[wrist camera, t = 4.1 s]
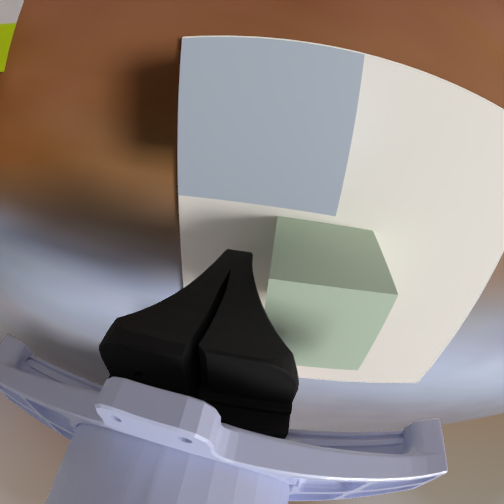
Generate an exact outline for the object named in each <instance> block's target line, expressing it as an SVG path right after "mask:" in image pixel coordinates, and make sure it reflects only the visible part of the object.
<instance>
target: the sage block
mask: <svg viewBox="0 0 504 504" xmlns="http://www.w3.org/2000/svg"><path fill="white" fill-rule="evenodd" d="M397 297H398V292H397V290H396V287H395V284H394V281H393V279H392V276H391V274H390V271H389V268H388V266H387V263H386V261H385V258H384V256H383V253H382V251H381V249H380V246H379V244H378V241H377V239H376V237H375V234H374V232H373V231H372V230H366V229H360V228H354V227H347V226H341V225H335V224H328V223H322V222H315V221H308V220H302V219H295V218H287V217H280V216H277V224H276V231H275V238H274V246H273V253H272V260H271V267H270V274H269V281H268V288H267V295H266V302H265V308H264V310H265V312H266V314H267V316H268V318H269V320H270V321H271V323H272V325H273V327H274V328H275V330H276V332H277V333H278V335H279V336H280V338H281V339H282V340H283V342H284V343H285V344H286V346H287V347H288V348H289V349H290V350H291V352H292V353H293V356H294V359H295V363H296V365H297V366H307V367H318V368H330V369H344V370H358V369H359V368H360V366H361V364H362V363H363V361H364V359H365V357H366V356H367V354H368V352H369V350H370V349H371V347H372V345H373V343H374V342H375V340H376V338H377V336H378V334H379V332H380V330H381V329H382V327H383V325H384V323H385V321H386V319H387V317H388V315H389V313H390V311H391V309H392V307H393V305H394V303H395V301H396V299H397Z"/></svg>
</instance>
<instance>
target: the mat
mask: <svg viewBox="0 0 504 504" xmlns="http://www.w3.org/2000/svg"><path fill="white" fill-rule="evenodd" d="M194 37H247V38H264V39H276V40H286V41H294V42H302V43H309V44H315V45H321V46H327V47H332V48H337V49H342V50H347V51H351V52H356V53H360V54H364V63H363V71H362V79H361V86H360V93H359V100H358V106H357V112H356V118H355V124H354V130H353V136H352V141H351V147H350V152H349V157H348V162H347V167H346V172H345V177H344V181H343V186H342V191H341V195H340V200H339V204H338V209H337V213H336V216H330V215H324V214H318V213H312V212H306V211H299V210H292V209H286V208H279V207H272V206H265V205H257V204H250V203H242V202H234V201H226V200H218V199H210V198H201V197H192V196H182V195H179V224H180V244H181V260H182V274H183V287H186V286H187V285H188V284H190V283H191V282H192V281H193V280H195V279H196V278H197V277H198V276H200V275H201V274H202V273H203V272H204V271H205V270H206V269H207V268H209V267H210V266H211V265H212V264H213V263H214V262H215V261H216V260H217V259H218V258H219V257H220V256H221V255H222V253H223V252H224V251H225V250H227V249H231V250H238V251H245V252H251V253H252V254H253V262H252V268H253V275H254V279H255V284H256V288H257V291H258V294H259V297H260V300H261V303H262V305H263V307H264V308H265V302H266V295H267V288H268V281H269V274H270V267H271V260H272V253H273V246H274V238H275V231H276V224H277V216H280V217H287V218H295V219H302V220H308V221H315V222H322V223H328V224H335V225H341V226H347V227H354V228H360V229H366V230H372V231H373V232H374V234H375V237H376V239H377V241H378V244H379V246H380V249H381V251H382V253H383V256H384V258H385V261H386V263H387V266H388V268H389V271H390V274H391V276H392V279H393V281H394V284H395V287H396V290H397V292H398V297H397V299H396V301H395V303H394V305H393V307H392V309H391V311H390V313H389V315H388V317H387V319H386V321H385V323H384V325H383V327H382V329H381V330H380V332H379V334H378V336H377V338H376V340H375V342H374V343H373V345H372V347H371V349H370V350H369V352H368V354H367V356H366V357H365V359H364V361H363V363H362V364H361V366H360V368H359V369H358V370H344V369H330V368H318V367H307V366H297V365H296V367H297V372H298V377H300V378H310V379H321V380H334V381H349V382H372V383H418V382H419V380H420V379H421V378H422V377H423V376H424V375H425V373H426V372H427V371H428V370H429V368H430V367H431V366H432V365H433V363H434V362H435V361H436V360H437V358H438V357H439V356H440V354H441V353H442V352H443V350H444V349H445V348H446V346H447V345H448V344H449V342H450V341H451V340H452V338H453V337H454V335H455V334H456V332H457V331H458V330H459V328H460V327H461V325H462V324H463V322H464V321H465V319H466V318H467V316H468V314H469V313H470V311H471V310H472V308H473V306H474V305H475V303H476V302H477V300H478V298H479V297H480V295H481V293H482V291H483V290H484V288H485V286H486V284H487V283H488V281H489V279H490V277H491V275H492V273H493V271H494V269H495V267H496V266H497V264H498V262H499V260H500V258H501V255H502V253H503V251H504V109H502V108H501V107H499V106H497V105H495V104H493V103H492V102H490V101H488V100H486V99H484V98H482V97H480V96H478V95H476V94H474V93H472V92H470V91H468V90H466V89H464V88H462V87H460V86H457V85H455V84H453V83H451V82H448V81H446V80H444V79H441V78H439V77H436V76H434V75H431V74H429V73H426V72H423V71H421V70H418V69H415V68H412V67H409V66H406V65H403V64H400V63H397V62H394V61H391V60H387V59H384V58H380V57H377V56H373V55H369V54H365V53H361V52H357V51H353V50H348V49H344V48H339V47H334V46H329V45H323V44H317V43H311V42H304V41H297V40H288V39H279V38H268V37H253V36H189V37H183V38H194Z"/></svg>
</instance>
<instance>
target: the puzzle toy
mask: <svg viewBox="0 0 504 504" xmlns="http://www.w3.org/2000/svg"><path fill="white" fill-rule="evenodd" d="M23 2H24V0H0V72H4V69H5V64H6V60H7V55H8V51H9V47H10V43H11V39H12V36H13V32H14V29H15V26H16V22H17V19H18V16H19V13H20V10H21V8H22V5H23Z"/></svg>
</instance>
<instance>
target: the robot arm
mask: <svg viewBox="0 0 504 504" xmlns="http://www.w3.org/2000/svg"><path fill="white" fill-rule="evenodd" d="M252 262H253V254H252V253H251V252H245V251H238V250H231V249H227V250H225V251H224V252H223V253H222V255H221V256H220V257H219V258H218V259H217V260H216V261H215V262H214V263H213V264H212V265H211V266H210V267H209V268H207V269H206V270H205V271H204V272H203V273H202V274H201V275H200V276H198V277H197V278H196V279H195V280H193V281H192V282H191V283H190V284H188V285H187V286H186V287H184V288H183V289H181V290H180V291H178V292H177V293H175V294H174V295H172V296H170V297H168V298H166V299H165V300H163V301H161V302H159V303H157V304H155V305H153V306H150V307H148V308H146V309H143V310H141V311H138V312H135V313H132V314H129V315H126V316H122V317H119V318H117V319H116V320H115V321H114V323H113V324H112V325H111V327H110V328H109V330H108V331H107V333H106V335H105V336H104V338H103V340H102V342H101V343H100V345H99V351H100V354H101V357H102V359H103V361H104V363H105V365H106V367H107V369H108V371H109V373H110V376H109V378H108V379H106V381H105V383H104V385H103V386H101V385H99V384H96V383H94V382H91V381H89V380H86V379H84V378H81V377H79V376H77V375H74V374H72V373H70V372H68V371H65V370H63V369H61V368H59V367H57V366H54V365H52V364H50V363H48V362H46V361H44V360H42V359H40V358H38V357H36V356H34V355H32V354H31V352H30V350H29V349H28V347H27V346H26V345H25V344H24V343H23V342H22V341H21V340H19V339H17V338H15V337H13V336H12V335H10V334H7V335H6V337H5V338H4V339H3V341H2V342H1V343H0V391H1V392H2V393H3V394H4V395H5V397H6V398H8V400H10V401H11V402H13V403H14V404H15V405H17V406H18V407H20V408H21V409H22V410H24V411H25V412H27V413H28V414H30V415H31V416H33V417H34V418H36V419H37V420H39V421H40V422H42V423H43V424H45V425H46V426H48V427H50V428H51V429H53V430H54V431H56V432H57V433H59V434H61V435H63V436H64V437H66V438H68V439H69V440H71V442H70V444H69V446H68V448H67V451H66V453H65V456H64V458H63V460H62V462H61V465H60V467H59V470H58V472H57V475H56V477H55V480H54V482H53V485H52V487H51V490H50V492H49V495H48V498H47V501H46V503H45V504H288V501H319V500H336V499H348V498H357V497H365V496H373V495H380V494H386V493H392V492H398V491H404V490H410V489H414V488H416V487H419V486H421V485H423V484H425V483H427V482H429V481H431V480H433V479H435V478H437V477H439V476H441V475H443V474H445V473H447V471H448V468H447V460H446V453H445V447H444V440H443V434H442V430H441V424H440V419H438V418H437V419H428V420H419V421H414V422H412V423H410V424H408V425H407V426H406V427H405V428H404V430H396V431H377V432H329V431H309V430H296V429H289V420H290V414H291V411H292V402H293V399H294V397H295V395H296V392H297V390H298V385H299V380H298V372H297V367H296V363H295V359H294V356H293V353H292V352H291V350H290V349H289V348H288V347H287V346H286V344H285V343H284V342H283V340H282V339H281V338H280V336H279V335H278V333H277V332H276V330H275V328H274V327H273V325H272V323H271V321H270V320H269V318H268V316H267V314H266V312H265V310H264V307H263V305H262V303H261V300H260V297H259V294H258V291H257V288H256V284H255V279H254V275H253V268H252Z"/></svg>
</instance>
